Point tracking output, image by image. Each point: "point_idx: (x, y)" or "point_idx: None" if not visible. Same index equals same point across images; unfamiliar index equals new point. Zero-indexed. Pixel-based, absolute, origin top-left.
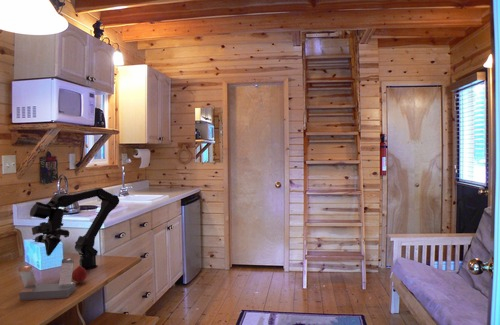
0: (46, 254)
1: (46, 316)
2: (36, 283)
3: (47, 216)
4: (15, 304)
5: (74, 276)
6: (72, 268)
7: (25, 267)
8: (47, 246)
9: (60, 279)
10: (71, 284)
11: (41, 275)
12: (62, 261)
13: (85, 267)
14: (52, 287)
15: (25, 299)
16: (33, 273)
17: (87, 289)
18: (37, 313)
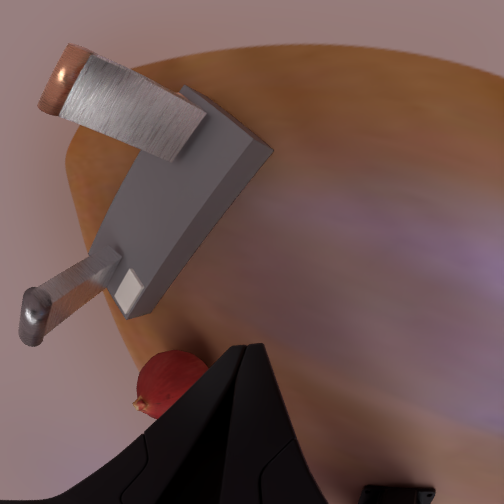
0: (262, 349)
1: (68, 165)
2: (159, 155)
3: None
4: (181, 85)
5: (159, 354)
6: (60, 320)
7: (49, 79)
8: (226, 479)
9: (93, 256)
10: (116, 295)
11: None
12: (27, 292)
13: (376, 499)
14: (134, 223)
15: None
16: (92, 128)
17: (129, 335)
18: (88, 148)
